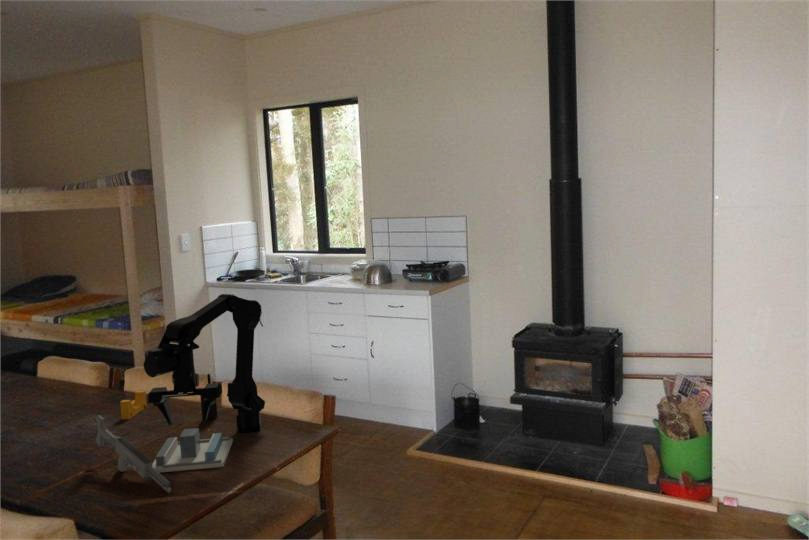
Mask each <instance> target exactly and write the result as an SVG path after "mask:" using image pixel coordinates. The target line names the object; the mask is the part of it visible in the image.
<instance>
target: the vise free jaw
mask: <svg viewBox="0 0 809 540" xmlns="http://www.w3.org/2000/svg"><path fill="white" fill-rule="evenodd" d="M223 438H224V437H223V432H217V433H212V435H211V438H209V439H210V441H209V443H208V446H207V448H206V450H205V452H204V455H205V461H208V460H215V459H216V456H217V454H218V451H219V449H220V447H221V444H222V442H223Z"/></svg>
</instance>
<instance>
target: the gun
mask: <svg viewBox="0 0 809 540" xmlns="http://www.w3.org/2000/svg"><path fill="white" fill-rule="evenodd" d="M95 418H96V419H95V420H96V426H97V434H96V439H95V443H96V444H97V445H98V446H99V447H104V446H105V443H106V442H105V441H107V442H109V444H110V445H112V446H113V447H114V448H115V452H116V453H117V454H118V455H119V456H118V459H117V469H118V470H119V471H120V472H121V473H123V472H126V467H129V469H133V470H134V471H135V472H136V473H137V474H138V475H140V477H141V478H142V479H144V480H145V481H147V480H148V479H150V480H151V479H152V480H154V482H155V483H157V484H158V485H159V486H161V488H162V490H164V491H165V492H167V493H168V494H170V493H172V488H171V484H170V483H171V482H170V481H169V480H168V479H167V478H166V477H165V476H164V475H163V474H161V472H160V473H159V472H158V471H157V470H156V469H154V468H153V467H152V464H153V462H154V461H152V460H151V459H149V458H148V457H147V456H146V455H145V454H144V453H142V452H141V451H140V450H139V449H138V448H137V447H136V446H134V444H132V442H130V441H129V440H128V439H126V438H125V437H124V436H117V435H115V434H113V432H112V431H110V430H109V429H108V428H107V427H106V423H105V422H106V419H105V418H104V417H103V416H102V415H100V414H98V415H96V417H95Z"/></svg>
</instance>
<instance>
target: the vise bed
mask: <svg viewBox="0 0 809 540" xmlns="http://www.w3.org/2000/svg"><path fill="white" fill-rule="evenodd" d="M222 438H223V442H222V444H221V447H220V449H219V451H218V454H217V456H216V459H215V460H208V461H205V455H204V452H205V450H206V448H207V446H208V443H209V441H210V439H211V438H204V439H203V438H200V448H201V449H200V451H199V453H198V455H197V457H190V458H181V449H180V440H179V441H178V437H177V436H175V437H168V438H167V439H166V440H165V442H164V443H163V445H162V446H161V448H160V450H159V451H158V453H157V454H156V455H155V459H154V461H152V462H153V464H152V467H153V468H154V469H156V470H157V471H158V472H159V473H160V474H161V473H169V472H181V471H191V470H192V471H193V470H202V469H214V468H222V467H224V466H225V464H226V461H227V459H228V456H229V453H230V450H231V448H232V445H233V441H234V438H231V436H228V437H227V436H226V437H225V436H224V437H222Z"/></svg>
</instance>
